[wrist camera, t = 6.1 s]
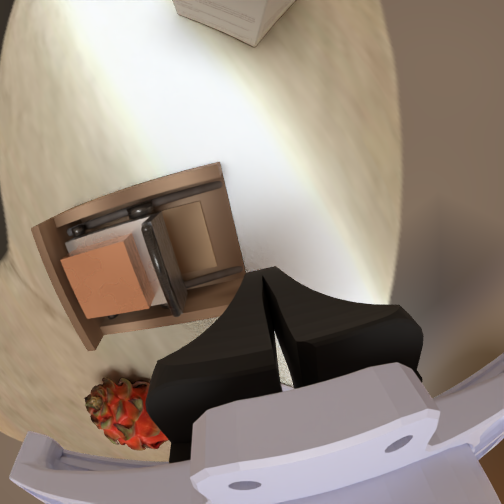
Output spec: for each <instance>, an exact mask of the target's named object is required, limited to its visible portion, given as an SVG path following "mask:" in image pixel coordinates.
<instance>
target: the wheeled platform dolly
mask: <svg viewBox="0 0 504 504" xmlns="http://www.w3.org/2000/svg"><path fill="white" fill-rule="evenodd" d="M126 210H127V213H128V216H129V219H133V220H129V221H126V222H123V223H119V224H116V225H113V226H109V227H106V228H103V229H100V230H97V231H94V232H91V233H88V234H85V235H82V234H84V233H85V229H84V226H83V224H81V225H79V226H76V227H74V228H72V229H71V231H72V234H73V237H76V238H73V239H70V240H69V241H67V242H66V243H65V245H66V247H67V250H68V254H67V255H66V256H64V257H63V258H62V259H61V260H60V261H61V263H62V266H63V268H64V270H65V273H66V275H67V278H68V280H69V282H70V284H71V287H72V289H73V291H74V293H75V295H76V297H77V300H78V302H79V304H80V306H81V308H82V310H83V312H84V314H85V316H86V318H87V319H90V318H96V317H103V316H107V317H108V319H114V318H116V317H117V316H118V315H119V314H121V313H127V312H132V311H138V310H144V309H149V308H150V306H154V305H159V304H160V305H161V307H162V308H164V309H170V311H171V314H172V315H173V316H174V317H179V316H180V315H181V314H183V311H184V307H185V303H186V299H187V295H188V292H187V289H186V287H185V284H184V281H183V278H182V275H181V272H180V269H179V266H178V263H177V260H176V257H175V254H174V251H173V247H172V244H171V241H170V238H169V234H168V231H167V228H166V225H165V221H164V218H163V214H162V211H161V212H157V213H154V214H150V213H152V212H153V211H154V208H153V204H152V201H151V200H150V201H145V202H142V203H139V204H136V205H133V206H131V207H129V208H127V209H126ZM148 214H150V215H148ZM145 215H146V216H145ZM142 216H143V217H142ZM80 235H82V236H80ZM78 236H79V237H78Z"/></svg>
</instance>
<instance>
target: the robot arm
mask: <svg viewBox="0 0 504 504" xmlns="http://www.w3.org/2000/svg"><path fill="white" fill-rule="evenodd" d="M274 331H275V333H276V336H277V339H278V342H279V344H280V347H281V349H282V352H283V355H284V357H285V360H286V363H287V365H288V368H289V371H290V374H291V378H292V382H293V385H294V388H293V387H290V386H287V385H284V384H281V382H280V377H279V370H278V361H277V352H276V343H275V334H274ZM422 346H423V333H422V329H421V327H420V326H419V325H418V324H417V323H416V322H415V321H414V319H413V318H412V317H411V316H410V315H409V314H408V313H407V312H406V311H405V310H404V309H403V308H402V307H401V306H400V305H375V304H364V303H356V302H351V301H346V300H341V299H337V298H334V297H330V296H327V295H324V294H322V293H319V292H316V291H314V290H312V289H310V288H308V287H306V286H304V285H302V284H300V283H299V282H297V281H295V280H294V279H292V278H291V277H289V276H288V275H287V274H285V273H284V272H283V271H281V270H280V269H279V268H277V267H276V266H274V267H270V268H266V269H261V270H257V271H252V272H248V273H246V274H245V275H244V278H243V280H242V282H241V285H240V287H239V289H238V291H237V292H236V294H235V296H234V298H233V299H232V301H231V303H230V304H229V306H228V307H227V309H226V310H225V311H224V313H223V314H222V315H221V316H220V317H219V318H218V319H217V320H216V321H215V322H214V323H213V324H212V325H211V326H210V327H209V328H208V329H207V330H206V331H205V332H203V333H202V334H201V335H200V336H198V337H197V338H196V339H194V340H193V341H192V342H190V343H189V344H187V345H186V346H184V347H183V348H181V349H179V350H177V351H176V352H174V353H172V354H170V355H168V356H166V357H164V358H162V359H160V360H158V361H157V364H156V366H155V369H154V371H153V374H152V378H151V381H150V385H149V389H148V393H147V397H146V401H145V405H146V411H147V413H148V414H149V416H150V418H151V419H152V421H153V422H154V423H155V424H156V425H157V427H158V428H159V429H160V430H161V431H162V433H163V434H164V435H165V436H166V437H167V438H168V439H169V441H170V442H171V449H170V458H169V462H155V461H138V460H126V459H117V458H109V457H102V456H95V455H89V454H84V453H79V452H74V451H69V450H65V449H63V448H62V447H61V446H60V444H58V443H57V442H56V441H55V440H54V439H52V438H51V437H49V436H47V435H44V434H40V433H36V432H33V431H28V433H27V435H26V437H25V439H24V441H23V444H22V446H21V449H20V451H19V453H18V456H17V458H16V460H15V463H14V466H13V468H12V471H11V473H10V476H9V478H10V479H11V480H12V481H13V482H14V483H16V484H17V485H18V486H20V487H22V488H23V489H24V490H26V491H27V492H29V493H30V494H32V495H33V496H35V497H36V498H38V499H39V500H41V501H43V502H44V503H46V504H501V503H500V500H499V499H498V497H497V495H496V493H495V491H494V489H493V487H492V485H491V483H490V481H489V479H488V478H487V476H486V474H485V472H484V470H483V469H482V467H481V465H480V463H479V462H478V460H479V459H480V458H481V457H482V456H484V455H485V454H486V453H487V452H489V451H490V450H491V449H492V448H493V447H494V446H496V445H497V444H498V443H499V442H500V441H501V440H502V439H503V438H504V353H503V354H501V355H500V356H499V357H497V358H496V359H495V360H494V361H492V362H491V363H489V364H488V365H486V366H485V367H484V368H482V369H481V370H479V371H478V372H476V373H475V374H473V375H472V376H470V377H469V378H467V379H466V380H464V381H462V382H461V383H459V384H457V385H456V386H454V387H453V388H451V389H449V390H447V391H445V392H444V393H442V394H440V395H438V396H436V397H435V398H433V399H432V397H431V396H430V394H429V393H428V392H427V390H426V389H425V387H424V386H423V384H422V377H421V376H420V374H419V373H418V371H417V366H418V363H419V359H420V354H421V351H422Z"/></svg>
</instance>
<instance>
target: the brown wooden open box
mask: <svg viewBox="0 0 504 504" xmlns="http://www.w3.org/2000/svg"><path fill="white" fill-rule="evenodd" d="M150 200H151V201H152V204H153V208H154V211H153V212H152V213H150V214H154V213H157V212H161V211H162V214H163V218H164V221H165V225H166V228H167V231H168V234H169V238H170V241H171V244H172V247H173V251H174V254H175V257H176V260H177V263H178V266H179V269H180V272H181V275H182V278H183V281H184V284H185V287H186V289H187V292H188V295H187V299H186V303H185V307H184V311H183V314H181V315H180V316H179V317H174V316H173V315H172V314H171V311H170V309H164V308H162V307H161V305H160V304H159V305H154V306H150V308H149V309H144V310H138V311H132V312H127V313H121V314H119V315H118V316H117V317H116V318H114V319H108V317H107V316H103V317H96V318H90V319H87V318H86V316H85V314H84V312H83V310H82V308H81V306H80V304H79V302H78V300H77V297H76V295H75V293H74V291H73V289H72V287H71V284H70V282H69V280H68V278H67V275H66V273H65V270H64V268H63V266H62V263H61V261H60V260H61V259H62V258H63V257H64V256H66V255H67V254H68V250H67V247H66V245H65V243H66V242H67V241H69V240H70V239H73V238H76V237H73V234H72V231H71V229H72V228H74V227H76V226H79V225H81V224H83V226H84V229H85V233H84V234H82V235H85V234H88V233H91V232H94V231H97V230H100V229H103V228H106V227H109V226H113V225H116V224H119V223H123V222H126V221H129V220H133V219H129V216H128V213H127V210H126V209H127V208H129V207H131V206H133V205H136V204H139V203H142V202H145V201H150ZM150 214H148V215H150ZM145 216H146V215H145ZM142 217H143V216H142ZM31 231H32V234H33V237H34V239H35V242H36V245H37V248H38V251H39V253H40V256H41V258H42V261H43V263H44V266H45V268H46V271H47V273H48V275H49V278H50V280H51V282H52V285H53V287H54V289H55V291H56V293H57V295H58V297H59V299H60V302H61V304H62V306H63V308H64V310H65V311H66V313H67V315H68V317H69V319H70V321H71V323H72V325H73V326H74V328H75V330H76V332H77V334H78V335H79V337H80V339H81V340H82V342H83V344H84V346H85V347H86V349H87V350H88V351H93V350H96V348H97V346H98V345H99V343H100V341H101V339H102V337H103V336H104V335H107V334H115V333H122V332H129V331H136V330H143V329H150V328H156V327H162V326H168V325H174V324H180V323H186V322H191V321H197V320H202V319H208V318H213V317H218V316H221V315H222V314H223V313H224V311H225V310H226V309H227V307H228V306H229V304H230V303H231V301H232V299H233V298H234V296H235V294H236V292H237V291H238V289H239V287H240V285H241V282H242V280H243V278H244V275H245V274H246V271H245V267H244V263H243V259H242V255H241V250H240V246H239V242H238V238H237V234H236V229H235V225H234V221H233V217H232V212H231V208H230V204H229V200H228V195H227V191H226V187H225V182H224V178H223V174H222V169H221V165H220V162H216V163H212V164H208V165H204V166H200V167H196V168H192V169H188V170H185V171H181V172H177V173H174V174H170V175H167V176H163V177H160V178H157V179H153V180H150V181H147V182H143V183H140V184H137V185H134V186H131V187H128V188H125V189H122V190H119V191H116V192H113V193H110V194H107V195H105V196H102V197H99V198H96V199H94V200H91V201H88V202H86V203H83V204H81V205H78V206H75V207H73V208H71V209H69V210H66V211H64V212H62V213H60V214H58V215H56V216H54V217H52V218H50V219H48V220H46V221H44V222H42V223H40V224H38V225H36V226H34V227H33V228H31ZM82 235H80V236H82ZM78 237H79V236H78Z"/></svg>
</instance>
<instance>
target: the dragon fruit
mask: <svg viewBox="0 0 504 504" xmlns="http://www.w3.org/2000/svg"><path fill="white" fill-rule="evenodd" d="M102 381H103V382H104V383H103V385H102V384H99V385H98V386H94V387H93V389H92V390H91V394H89V395H88V396H87V397H85V402H86V404H85V406H86V409H87V411H88V412H89V413H90V414H91V420H92V422H93V423H94V424H95V425H96V426H97V428H98V429H103V430H104V434H105V436H106V437H107V438H108V439H109V440H110V441H111V442H112V443H113V444H118V442H117V440H118V441H119V443H120V444H121V445H125V444H127V445H128V446H129V447H130V448H131V449H134V450H145V449H146V448H152V449H158V448H159V446H160V445H162V444H163V443H164V442H166V441H167V440H169V439H168V438H167V437H166V436H165V435H164V434H163V433H162V431H161V430H160V429H159V428H158V427H157V425H156V424H155V423H154V422H153V421H152V419H151V418H150V416H149V414H148V413H147V411H146V405H145V401H146V397H147V393H148V389H149V385H150V384H149V383H147V382H140V381H137V382H135V383H134V384H131V383H130V382H129V381H128V380H126V379H124V378H121V379H120V381H119V384H118V385H116V384H115V383H114V382H113V381H112V380H110V379H108V378H103V379H102ZM141 384H144V385H143V386H141V387H139V388H134V387H136V386H138V385H141ZM118 445H119V444H118ZM145 447H146V448H145Z"/></svg>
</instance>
